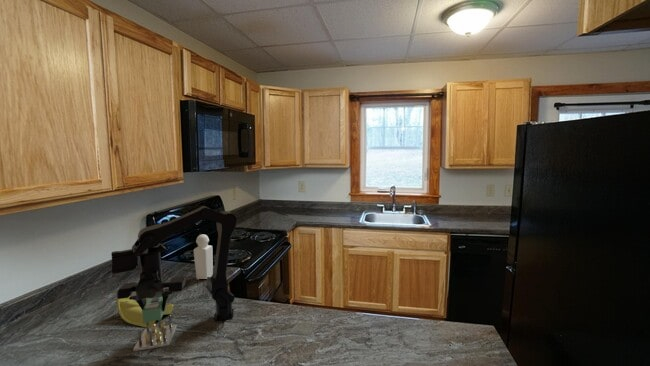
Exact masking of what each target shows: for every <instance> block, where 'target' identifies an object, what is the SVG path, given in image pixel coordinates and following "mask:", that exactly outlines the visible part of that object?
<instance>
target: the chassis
mask: <svg viewBox="0 0 650 366" xmlns="http://www.w3.org/2000/svg"><path fill="white" fill-rule="evenodd" d="M172 323H173V321H172V314H168V325H167V323H166V321H163V322H162V319H161V320H158V326H157V324H156V322H155V323H154V324H151V326H150V327H149V322H146V327H145V328H144V330H143V332H142V330H138V331H137V337H138V340H137V342H136V343H135V345H134V347H133V348H132V351H133V352H138V351H143V350H150V349H156V348H162V347H168V346H170V343H171V341H172V339H173V336H174V334H175V331H176V329H177V327H178V326H177V324H172Z"/></svg>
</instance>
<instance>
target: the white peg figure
mask: <svg viewBox="0 0 650 366" xmlns="http://www.w3.org/2000/svg"><path fill="white" fill-rule="evenodd" d="M195 242H196V245H197V247H195V248H194V249H193V257H194V267H195V277H196V280H199V279H207V277H211V276H212V275H213V272H214V266H213V265H214V263H213V260H214V259H213V258H214V257H213V256H214V255H213V245H209V242H210V239H209V236H208V235H207V234H204V233H203V234H199V235H198V236H197V237H196V240H195Z"/></svg>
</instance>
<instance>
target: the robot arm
mask: <svg viewBox="0 0 650 366" xmlns="http://www.w3.org/2000/svg"><path fill="white" fill-rule="evenodd" d="M205 219H207V220H210V221H213V222H215V223H216V230H217V235H218V236H217V243H216V252H215V260H214V266H213V275H212V276H211V277H207V280H206V285H205V288H206V290H207V293H208V294H209V295H210V297H211V298H212V300H214V301H215V316H214V321H215V322H216V321H217V322H218V321H223V320H224V321H225V320H230V319H233V318H234V311H235V310H234V309H235V308H233V303H234V302H235V301H234V300H235V297H236V296H235V295H234V294H233V293H232V292H231V291H230V290H229V285H228V279H227V278H228V277H227V270H228V260H229V254H230V245H231V239H232V236H233V234H234V232H235V231H236V230H235V229H236V227H237V223H238V217H237V216H236V215H235V214H234V213H232V212H230V211H227V210H222V211H218V210H216V209H213V208H209V207H208V206H205V205H201V206H199V208H196V209H195V210H192V211H190V212H188V213H185V214H183V215H181V216H179V217H175V218H174V219H172V220H171V219H170V220H169V221H167V222H164V223H158V224H154V225H150V226H145V227H143V228H141V229H140V230H139V231H138V234H137V239H136V241H135V242H134V243H133V245H132V247H131V248H129V249H124V250H116V251H112V252H111V254H110V255H111V273H112V275H113V276H114V275H118V274H122V273H127V272H133V271H135V269H137V267H139V264H140V273H139V280H138V282H137V281H133V282H125V283H124V284H122V285H121V287H119V289H118V290H116V299H123V298H128V297H129V296H130V298H129V299H130V300H135V301H136V302H137V303H138V304H139V306H140V307H141V309H142V310H143V308H144V307H145V305H146V299H151V298H155V295H156V293H158V292H162V290H163V292H162V293H161V297H163V302H162V309H163V311H165V308H166V305H167V303H168V301H169V298H170V295H172V294H173V293H176V292H181V291H183V289H184V288H185V285H186V278H185V277H184V276H176V277H172V278H171V279H170V280H169V281H164V278H163V273H162V269H163V265H162V260H161V259H162V257H161V253H164V252H167V250H168V249H167V248H166V246H164V245H163V244H162V243H163V242H164V241H166V239H167V238H168V237H170V236H171V235H173V234H175V233H177V232H179V231H182V230H185V228H188V227H190V226H193V225H194V224H196V223H199V222H201V221H203V220H205ZM138 257H139V259H138ZM138 260H139V261H138ZM139 262H140V263H139ZM163 281H164V282H163Z"/></svg>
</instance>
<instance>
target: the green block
mask: <svg viewBox="0 0 650 366" xmlns="http://www.w3.org/2000/svg"><path fill="white" fill-rule="evenodd" d="M147 299H148V301H147V303H146V305H145V307H144V308H143V310H142V314H143V323H144V322H150V321H155V320H156V321H159V320H161V321H162V318H163V316H164V315H163V314H164V311H163V309H162V302H163V297H162V296H160V297H159V296H158V297H152V298H147ZM165 309H166V308H165ZM156 321H155V322H156Z"/></svg>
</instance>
